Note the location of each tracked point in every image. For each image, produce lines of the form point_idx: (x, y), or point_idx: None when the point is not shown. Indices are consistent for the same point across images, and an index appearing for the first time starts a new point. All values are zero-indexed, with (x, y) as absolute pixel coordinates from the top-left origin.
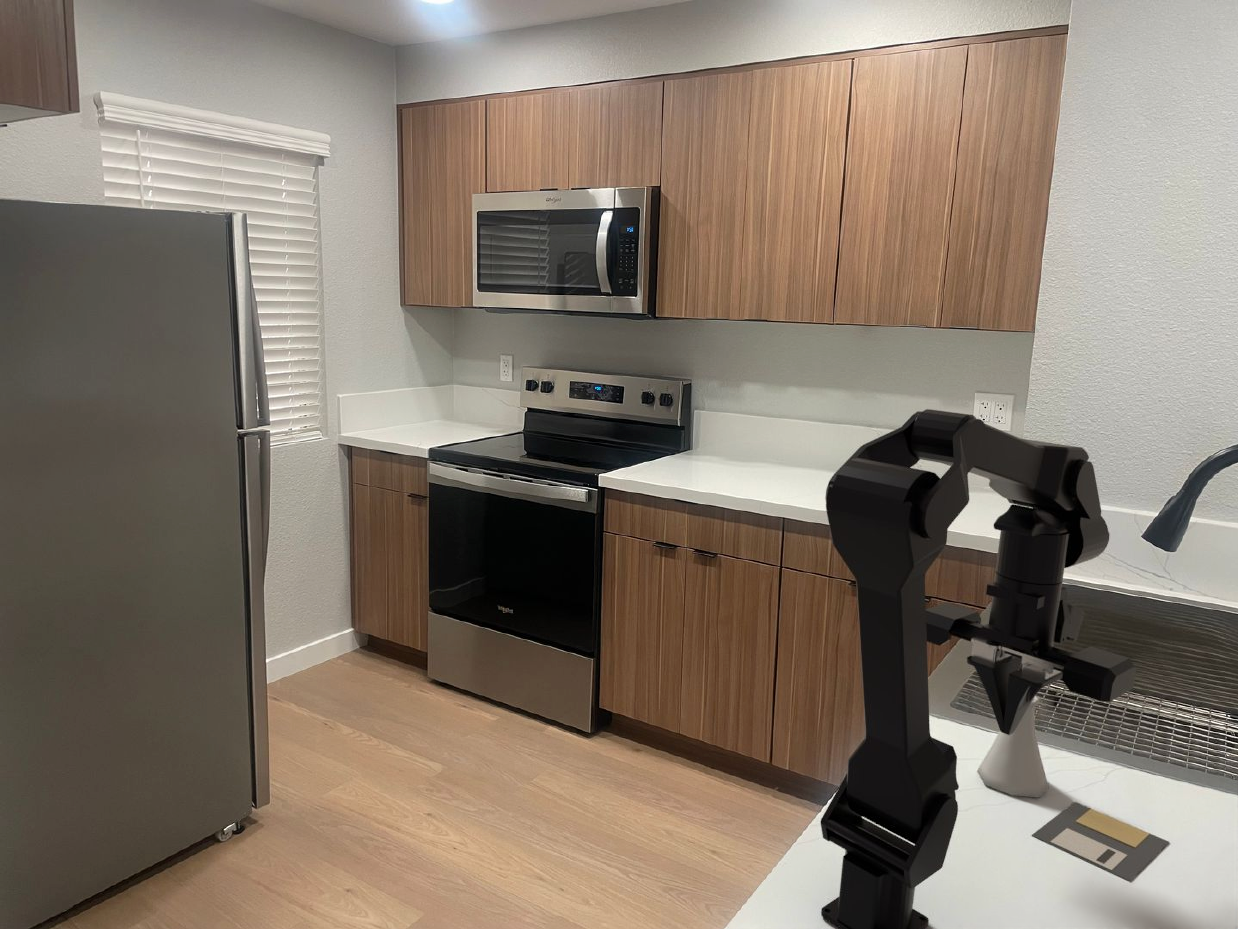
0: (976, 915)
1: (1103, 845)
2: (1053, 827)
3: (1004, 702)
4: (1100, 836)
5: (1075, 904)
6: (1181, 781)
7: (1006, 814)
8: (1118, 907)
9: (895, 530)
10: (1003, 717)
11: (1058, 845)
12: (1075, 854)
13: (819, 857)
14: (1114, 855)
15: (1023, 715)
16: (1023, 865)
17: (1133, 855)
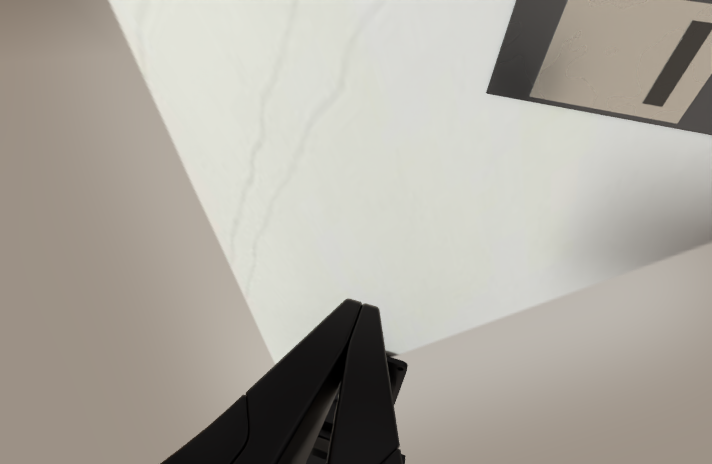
0: (446, 331)
1: (681, 9)
2: (535, 10)
3: (302, 460)
4: None
5: (577, 260)
6: None
7: (416, 31)
8: (661, 233)
9: None
10: (332, 401)
11: (548, 100)
12: (589, 108)
13: (272, 315)
14: (706, 43)
15: (388, 377)
16: (484, 206)
17: None
